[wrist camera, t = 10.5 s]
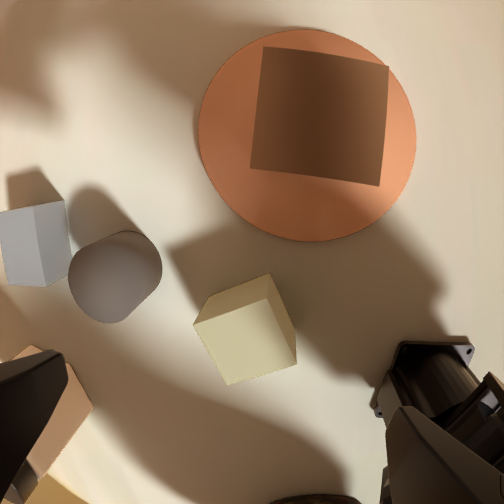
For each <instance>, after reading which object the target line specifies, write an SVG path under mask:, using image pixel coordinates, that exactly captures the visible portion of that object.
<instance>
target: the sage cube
mask: <svg viewBox="0 0 504 504" xmlns="http://www.w3.org/2000/svg"><path fill="white" fill-rule="evenodd" d="M193 326H194V328H195V330H196V332H197V334H198V335H199V337H200V339H201V341H202V343H203V344H204V346H205V348H206V350H207V352H208V353H209V355H210V357H211V359H212V360H213V362H214V364H215V366H216V367H217V369H218V371H219V372H220V374H221V376H222V378H223V379H224V381H225V383H226V384H227V385H230V384H234V383H237V382H241V381H244V380H248V379H251V378H255V377H258V376H261V375H265V374H268V373H271V372H274V371H278V370H281V369H284V368H287V367H290V366H293V365H296V364H297V359H296V340H295V329H294V327H293V324H292V322H291V320H290V317H289V315H288V313H287V311H286V308H285V306H284V304H283V301H282V299H281V297H280V295H279V292H278V290H277V288H276V286H275V283H274V281H273V279H272V276H271V274H270V273H268V274H266V275H263V276H261V277H258V278H256V279H253V280H251V281H248V282H245V283H243V284H240V285H238V286H235V287H232V288H230V289H227V290H225V291H222V292H219V293H217V294H214V295H212V296H209V298H208V299H207V301H206V303H205V305H204V306H203V308H202V310H201V311H200V313H199V315H198V317H197V318H196V320H195V322H194V324H193Z"/></svg>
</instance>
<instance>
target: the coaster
mask: <svg viewBox="0 0 504 504" xmlns="http://www.w3.org/2000/svg"><path fill="white" fill-rule="evenodd" d="M263 46H265V47H277V48H288V49H297V50H305V51H312V52H319V53H326V54H332V55H338V56H344V57H349V58H354V59H359V60H364V61H368V62H373V63H377V64H382V65H385V64H384V63H383V62H382V61H381V60H380V59H378V58H377V57H376V56H375V55H374V54H373V53H371V52H370V51H368V50H367V49H365V48H364V47H362V46H361V45H359V44H357V43H355V42H353V41H351V40H349V39H347V38H344V37H341V36H338V35H335V34H331V33H327V32H322V31H314V30H291V31H285V32H279V33H275V34H272V35H268V36H265V37H263V38H260V39H258V40H256V41H254V42H252V43H250V44H248V45H247V46H245V47H244V48H242V49H240V50H239V51H238V52H237V53H235V54H234V55H233V56H232V57H231V58H229V59H228V61H227V62H226V63H225V64H224V65H223V66H222V67H221V68H220V69H219V71H218V72H217V74H216V75H215V77H214V78H213V80H212V81H211V83H210V85H209V87H208V89H207V91H206V94H205V97H204V100H203V103H202V106H201V111H200V116H199V127H198V137H199V148H200V152H201V157H202V161H203V164H204V166H205V169H206V172H207V174H208V176H209V178H210V180H211V182H212V184H213V186H214V188H215V189H216V190H217V192H218V193H219V195H220V196H221V197H222V199H223V200H224V201H225V202H226V203H227V204H228V205H229V206H230V207H231V209H232V210H233V211H235V212H236V213H237V214H238V215H239V216H241V217H242V218H243V219H244V220H246V221H248V222H249V223H251V224H252V225H254V226H255V227H257V228H259V229H261V230H263V231H266V232H268V233H270V234H273V235H276V236H279V237H282V238H286V239H292V240H297V241H311V242H313V241H327V240H332V239H337V238H341V237H344V236H347V235H350V234H353V233H355V232H357V231H359V230H361V229H363V228H365V227H367V226H369V225H370V224H372V223H373V222H375V221H376V220H377V219H379V218H380V217H381V216H382V215H383V214H384V213H385V212H386V211H388V210H389V208H390V207H391V206H392V205H393V204H394V202H395V201H396V200H397V199H398V197H399V196H400V194H401V192H402V191H403V189H404V187H405V185H406V183H407V181H408V179H409V177H410V174H411V170H412V167H413V164H414V158H415V152H416V129H415V121H414V117H413V113H412V109H411V106H410V103H409V101H408V98H407V96H406V94H405V92H404V90H403V88H402V86H401V85H400V83H399V81H398V80H397V79H396V77H395V76H394V74H393V73H392V72H391V71H390V70H389V80H388V101H387V116H386V129H385V141H384V151H383V160H382V169H381V177H380V185H379V187H378V186H372V185H366V184H360V183H354V182H348V181H341V180H335V179H328V178H322V177H314V176H307V175H300V174H292V173H284V172H276V171H267V170H258V169H250V161H251V151H252V142H253V133H254V124H255V115H256V106H257V97H258V88H259V79H260V71H261V62H262V53H263Z"/></svg>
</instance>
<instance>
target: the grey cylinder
mask: <svg viewBox="0 0 504 504" xmlns="http://www.w3.org/2000/svg"><path fill="white" fill-rule="evenodd" d="M161 276H162V261H161V258H160V255H159V252H158V251H157V249H156V247H155V246H154V244H153V243H152V242H151V241H150V240H149V239H148V238H147V237H145V236H143V235H142V234H140V233H137V232H133V231H122V232H119V233H117V234H114V235H112V236H109V237H107V238H105V239H102V240H100V241H98V242H95V243H93V244H91V245H89V246H86V247H84V248H82V249H80V250H79V251H78V252H77V253H76V254H75V255H74V257H73V258H72V260H71V263H70V266H69V271H68V281H69V286H70V290H71V293H72V295H73V297H74V299H75V301H76V303H77V304H78V305H79V307H80V308H81V309H82V310H83V311H84V312H85V313H86V314H87V315H88V316H90V317H91V318H93V319H95V320H97V321H100V322H103V323H116V322H120V321H122V320H123V319H125V318H126V317H127V316H128V315H129V314H130V313H131V312H132V311H133V310H134V309H135V308H136V307H137V306H138V305H139V304H140V303H141V302H143V301H144V300H145V299H146V298H147V297H148V296H149V295H150V294H151V293H152V292H153V291H154V290H155V289H156V287H157V286H158V284H159V283H160V280H161Z"/></svg>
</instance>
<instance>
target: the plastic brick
mask: <svg viewBox="0 0 504 504" xmlns="http://www.w3.org/2000/svg"><path fill="white" fill-rule="evenodd" d="M0 244H1V250H2V256H3V261H4V266H5V271H6V275H7V280H8V284H9V285H13V286H37V287H47V286H49V285H51V284H52V283H54V282H56V281H58V280H60V279H61V278H63V277H65V276H67V275H68V271H69V266H70V263H71V260H72V254H71V247H70V241H69V234H68V227H67V219H66V211H65V201H64V200H62V201H56V202H49V203H43V204H37V205H31V206H26V207H21V208H17V209H12V210H8V211H3V212H0Z"/></svg>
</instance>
